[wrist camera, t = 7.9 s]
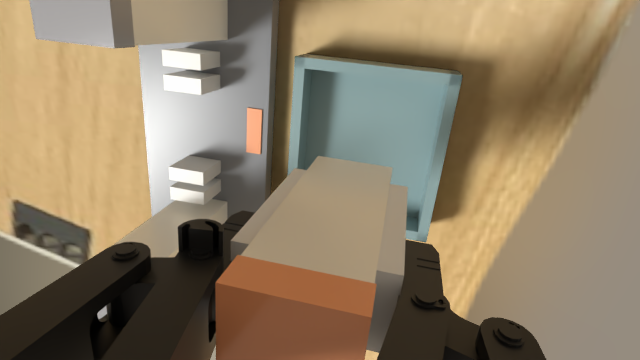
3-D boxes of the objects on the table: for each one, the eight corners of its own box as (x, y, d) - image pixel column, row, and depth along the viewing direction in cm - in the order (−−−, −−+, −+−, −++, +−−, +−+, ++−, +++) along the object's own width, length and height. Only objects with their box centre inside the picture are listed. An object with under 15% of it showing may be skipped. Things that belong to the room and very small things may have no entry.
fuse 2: (183, 192, 29) (75, 270, 20) (228, 201, 28) (138, 284, 19) (185, 234, 30) (85, 325, 21) (228, 243, 30) (144, 340, 20)
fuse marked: (317, 154, 18) (215, 282, 9) (394, 166, 17) (371, 317, 8) (311, 222, 19) (216, 396, 10) (382, 235, 19) (351, 433, 9)
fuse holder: (142, -58, 24) (99, -71, 21) (281, -48, 23) (258, -61, 20) (163, 238, 32) (134, 262, 29) (267, 259, 31) (249, 288, 27)
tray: (306, 53, 25) (294, 56, 22) (457, 70, 23) (462, 75, 21) (295, 201, 28) (285, 216, 26) (424, 224, 27) (426, 242, 25)
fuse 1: (173, -28, 23) (18, -64, 14) (228, -23, 23) (103, -58, 14) (176, 34, 25) (36, 38, 16) (228, 40, 24) (114, 48, 15)
